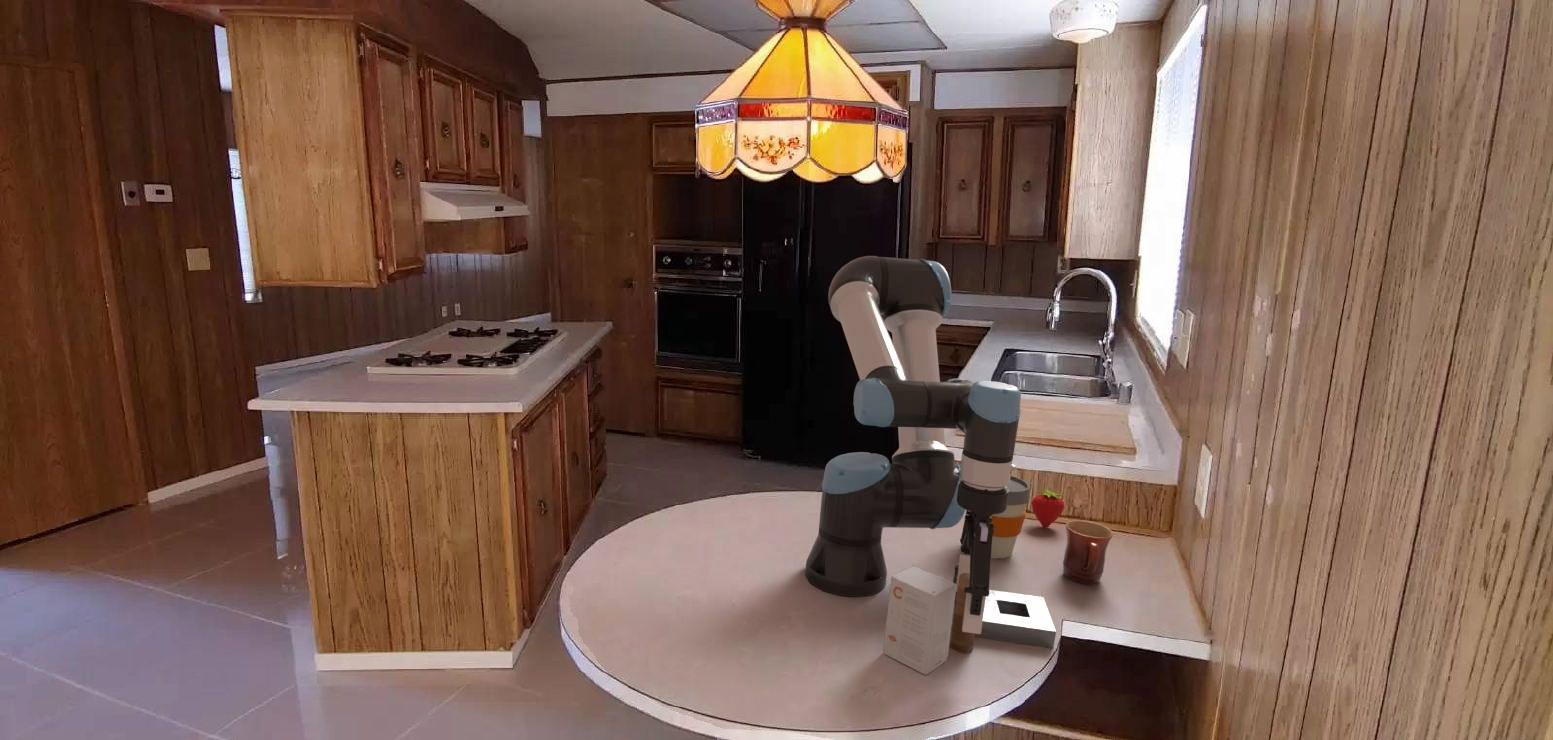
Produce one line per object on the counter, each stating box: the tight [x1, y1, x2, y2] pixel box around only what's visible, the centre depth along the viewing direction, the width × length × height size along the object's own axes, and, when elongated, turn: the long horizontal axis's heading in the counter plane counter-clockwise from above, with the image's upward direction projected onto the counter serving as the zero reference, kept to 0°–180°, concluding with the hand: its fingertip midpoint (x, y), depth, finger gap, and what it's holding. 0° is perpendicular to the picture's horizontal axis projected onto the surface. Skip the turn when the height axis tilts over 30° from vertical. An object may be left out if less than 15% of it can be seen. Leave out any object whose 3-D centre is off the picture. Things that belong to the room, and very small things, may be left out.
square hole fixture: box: [952, 563, 1057, 649], centre depth 136 cm, size 16×12×9 cm
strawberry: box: [1031, 484, 1065, 528], centre depth 181 cm, size 6×8×10 cm
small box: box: [882, 566, 957, 676], centre depth 123 cm, size 8×6×13 cm
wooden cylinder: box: [949, 573, 976, 654], centre depth 127 cm, size 4×4×12 cm
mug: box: [1062, 519, 1114, 585], centre depth 155 cm, size 12×9×10 cm
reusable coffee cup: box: [990, 475, 1031, 559], centre depth 166 cm, size 13×13×15 cm
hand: (967, 611), depth 126 cm, fingers open, 13 cm apart
